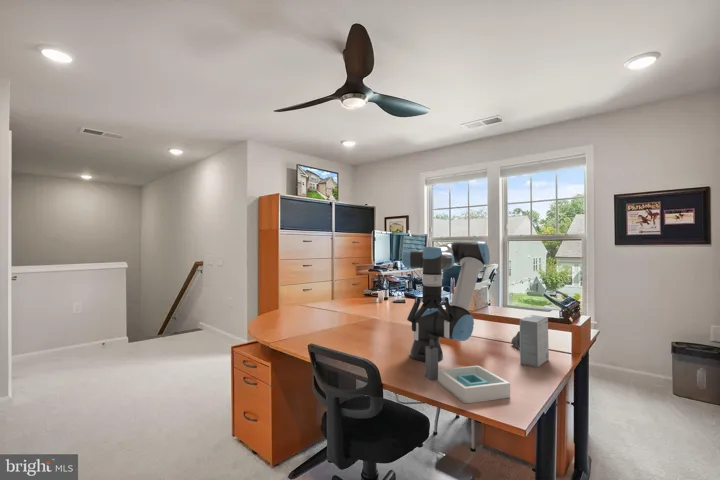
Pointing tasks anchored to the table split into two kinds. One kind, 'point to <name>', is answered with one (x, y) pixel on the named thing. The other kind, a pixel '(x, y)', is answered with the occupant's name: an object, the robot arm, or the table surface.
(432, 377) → the connector plug
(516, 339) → the mineral rock
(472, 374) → the walled box
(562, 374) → the table surface
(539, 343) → the hard drive box
